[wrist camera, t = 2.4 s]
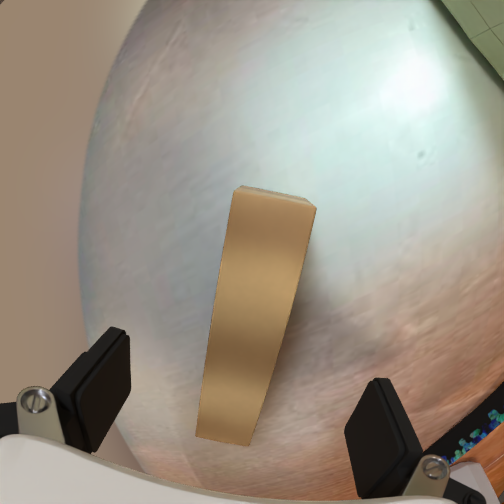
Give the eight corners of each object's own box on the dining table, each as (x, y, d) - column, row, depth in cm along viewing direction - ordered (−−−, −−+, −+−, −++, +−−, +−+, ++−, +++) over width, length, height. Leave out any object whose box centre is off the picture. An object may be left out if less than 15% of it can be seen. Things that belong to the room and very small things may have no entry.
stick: (240, 185, 13) (233, 189, 10) (306, 198, 13) (317, 207, 10) (203, 402, 17) (195, 437, 14) (251, 411, 17) (248, 447, 14)
